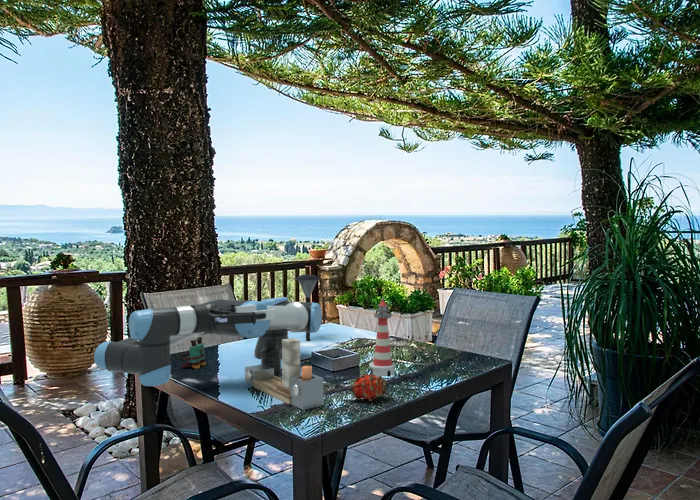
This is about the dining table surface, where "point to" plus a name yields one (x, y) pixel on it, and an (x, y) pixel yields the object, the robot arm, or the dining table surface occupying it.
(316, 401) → the cabinet
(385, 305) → the miniature lighthouse
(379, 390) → the dragon fruit
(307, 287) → the solar garden light
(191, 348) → the binoculars
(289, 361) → the tall cream pillar
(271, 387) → the rail
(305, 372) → the button
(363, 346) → the dining table surface
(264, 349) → the supplement bottle
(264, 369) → the cabinet
